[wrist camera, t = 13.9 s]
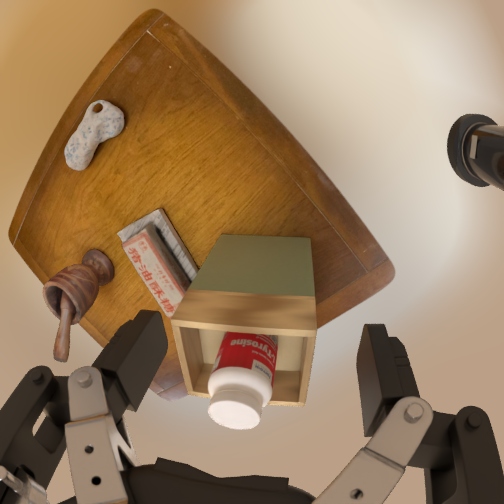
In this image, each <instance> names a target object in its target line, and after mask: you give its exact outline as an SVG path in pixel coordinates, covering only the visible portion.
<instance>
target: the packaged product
mask: <svg viewBox="0 0 504 504" xmlns="http://www.w3.org/2000/svg"><path fill="white" fill-rule="evenodd" d="M117 234H118V235H119V237H120V238H121V240H122V244H121V245H122V247H123V249H124V251H125V253H126V254H127V256H128V258H129V259H130V261H131V262H132V264H133V266H134V267H135V269H136V270H137V272H138V273H139V275H140V277H141V278H142V280H143V281H144V283H145V284H146V286H147V287H148V289H149V290H150V292H151V293H152V295H153V296H154V298H155V299H156V301H157V302H158V304H159V305H160V307H161V308H162V310H163V311H164V313H165V314H166V316H167V317H168V318H169V319H171V317H172V316H173V314H174V312H175V310H176V309H177V307H178V305H179V304H180V302H181V300H182V298H183V297H184V295H185V293H186V292H187V290H188V288H189V287H190V285H191V283H192V282H193V280H194V278H195V277H196V275H197V273H198V272H199V270H198V268H197V266H196V264H195V262H194V261H193V259H192V257H191V255H190V253H189V252H188V250H187V249H186V247H185V245H184V244H183V242H182V241H181V239H180V238H179V236H178V234H177V233H176V231H175V229H174V228H173V226H172V224H171V223H170V221H169V219H168V218H167V216H166V214H165V213H164V211H163V209H162V208H160V209H158V210H155V211H152V212H151V213H149V214H148V215H146V216H145V217H143V218H141V219H139V220H137V221H135V222H133V223H131V224H130V225H128V226H126V227H125V228H124V229H122V230H121V231H119V232H118V233H117Z"/></svg>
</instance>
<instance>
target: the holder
mask: <svg viewBox="0 0 504 504" xmlns="http://www.w3.org/2000/svg"><path fill="white" fill-rule="evenodd" d="M171 324H172V329H173V333H174V338H175V343H176V347H177V351H178V356H179V360H180V364H181V368H182V372H183V376H184V380H185V384H186V388H187V392H188V395H194V396H200V397H206V398H212V397H211V396H210V394H209V391H208V381H209V377H210V375H211V372H212V369H213V366H214V363H215V360H216V357H217V354H218V351H219V348H220V346H221V343H222V340H223V337H224V334H225V332H226V331H228V332H239V333H252V334H266V335H277V337H278V352H277V360H276V368H275V376H274V383H273V391H272V396H271V399H270V401H269V402H268V405H283V406H284V405H285V406H305V402H306V397H307V391H308V385H309V380H310V374H311V368H312V361H313V355H314V348H315V341H316V334H317V320H316V303H315V297H314V296H292V295H272V294H254V293H238V292H224V291H210V290H197V289H188V290H187V292H186V293H185V295H184V297H183V298H182V300H181V302H180V304H179V305H178V307H177V309H176V310H175V312H174V314H173V316H172V317H171Z"/></svg>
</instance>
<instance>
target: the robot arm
mask: <svg viewBox="0 0 504 504" xmlns="http://www.w3.org/2000/svg"><path fill="white" fill-rule="evenodd" d="M460 153H461V159H462V162H463V165H464V167H465V168H466V170H467V171H468V173H469V174H470V175H472V176H473V177H475V178H477V179H479V180H483V181H485V182H487V183H489V184H491V185H493V186H495V187H497V188H499V189H501V190H503V191H504V127H503V126H498V125H492V124H487V123H482V122H477V123H474V124H472V125H470V126H469V127H468V128H467V129H466V131H465V132H464V134H463V136H462V140H461V145H460ZM167 349H168V340H167V336H166V332H165V328H164V324H163V320H162V316H161V313H160V312H159V311H151V310H140V311H139V313H138V314H137V315H136V317H135V318H134V319H133V320H129V321H128V322H126V323H125V324H123V325H122V326H120V328H119V329H118V330H117V332H116V333H115V334H114V336H113V337H112V338H111V340H110V341H109V343H108V344H107V345H106V346H105V348H104V349H103V350H102V352H101V353H100V355H99V356H98V357H97V359H96V360H95V361H94V363H93V364H92V366H85V367H81V368H78V369H77V370H75V371H74V372H73V373H72V374H71V375H70V376H54V375H53V373H52V371H51V370H50V368H49V367H47V366H37V367H35V368H32V369H31V370H30V371H28V373H27V374H26V375H25V377H24V378H23V379H22V381H21V382H20V383H19V385H18V386H17V387H16V389H15V390H14V392H13V393H12V394H11V396H10V397H9V398H8V400H7V401H6V403H5V404H4V406H3V407H2V409H1V410H0V504H50V503H49V501H48V500H47V494H46V489H47V487H48V485H49V482H50V480H51V478H52V476H53V474H54V472H55V470H56V468H57V466H58V464H59V462H60V460H61V458H62V456H63V454H64V451H65V450H66V448H67V451H68V458H69V464H70V470H71V476H72V481H73V485H74V490H75V495H76V496H74V497H71V498H70V499H67V500H65V501H63V502H60V503H58V504H383V502H384V501H385V500H386V499H387V497H388V496H389V494H390V493H391V492H392V490H393V489H394V487H395V486H396V484H397V483H398V481H399V480H400V478H401V477H402V475H403V474H404V472H405V468H406V466H412V467H419V468H424V476H425V487H426V504H504V475H503V470H502V465H501V461H500V456H499V452H498V449H497V444H496V441H495V437H494V433H493V430H492V427H491V423H490V420H489V417H488V415H487V414H486V413H485V412H484V411H483V410H482V409H480V408H478V407H475V406H467V407H464V408H462V409H461V410H460V411H459V412H458V413H457V415H453V414H446V413H440V412H436V411H433V410H432V408H431V406H430V404H429V403H427V402H426V401H425V400H423V399H422V398H420V395H419V391H418V388H417V385H416V381H415V378H414V374H413V371H412V368H411V366H410V362H409V359H408V357H407V356H408V355H407V352H406V349H405V347H404V345H403V344H402V343H401V342H400V340H399V339H398V338H397V337H388V334H387V330H386V327H385V325H384V324H365V325H364V328H363V332H362V336H361V341H360V345H359V349H358V353H357V363H356V364H357V365H356V366H357V374H358V382H359V390H360V398H361V407H362V416H363V426H364V436H365V437H372V436H373V437H372V438H371V439H370V441H369V442H368V443H367V444H366V446H365V447H364V448H361V449H360V450H359V452H358V453H357V454H356V455H355V457H354V458H353V459H352V460H351V461H350V462H349V463H348V465H347V466H346V467H345V468H344V469H343V471H342V472H341V473H340V474H339V475H338V476H337V477H336V478H335V480H334V481H333V482H332V483H331V484H330V485H329V486H328V487H327V488H326V489H325V490H324V491H323V492H322V493H321V494H320V495H319V496H318V497H317V498H316V497H314V496H312V495H311V494H310V493H308V492H306V491H304V490H302V489H299V488H297V487H293V486H290V485H288V481H289V478H284V477H269V476H259V475H251V476H240V477H226V478H219V477H215V476H213V475H210V474H208V473H206V472H203V471H201V470H199V469H197V468H194V467H192V466H190V465H188V464H184V463H179V462H175V461H171V460H167V459H163V458H159V457H158V458H157V461H156V463H155V464H148V465H141V463H140V462H139V460H138V458H137V456H136V453H135V451H134V448H133V444H132V441H131V438H130V435H129V432H128V428H127V425H126V421H125V418H124V416H123V413H124V412H125V410H126V409H127V410H131V411H134V412H136V411H137V409H138V407H139V405H140V403H141V401H142V399H143V397H144V395H145V393H146V392H147V390H148V388H149V386H150V384H151V382H152V380H153V378H154V376H155V374H156V372H157V370H158V368H159V366H160V365H161V363H162V361H163V359H164V357H165V355H166V353H167ZM42 411H43V412H44V413H45V414H46V417H45V419H44V421H43V422H42V424H41V426H40V427H39V429H38V431H37V432H36V434H35V436H33V433H32V429H33V426H34V424H35V422H36V421H37V419H38V417H39V416H40V414H41V413H42Z"/></svg>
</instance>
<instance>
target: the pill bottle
mask: <svg viewBox="0 0 504 504" xmlns="http://www.w3.org/2000/svg"><path fill="white" fill-rule="evenodd" d="M277 352H278V337H277V335H266V334H252V333H239V332H228V331H226V332H225V334H224V337H223V340H222V343H221V346H220V348H219V351H218V354H217V357H216V360H215V363H214V366H213V369H212V372H211V375H210V377H209V381H208V391H209V394H210V396H211V397H212V398H211V400H210V404H209V408H208V413H209V415H210V417H211V418H212V419H213V420H214V421H215V422H216V423H218V424H220V425H222V426H225V427H228V428H232V429H250V428H253V427H255V426H256V425H258V423H259V421H260V418H261V414H262V408H263V407H265V406H266V405H267V404H268V402H269V401H270V399H271V396H272V391H273V383H274V376H275V368H276V360H277Z"/></svg>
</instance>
